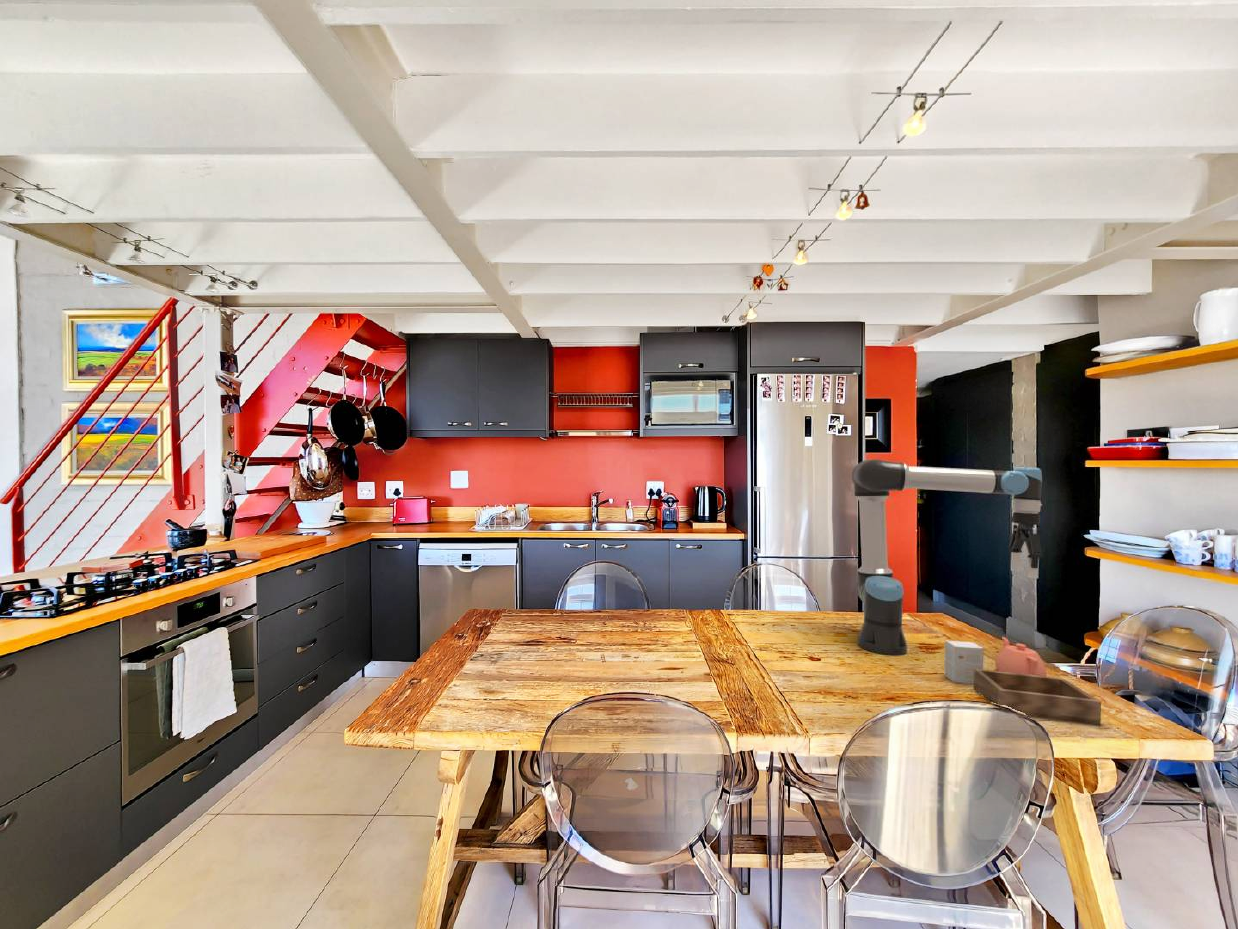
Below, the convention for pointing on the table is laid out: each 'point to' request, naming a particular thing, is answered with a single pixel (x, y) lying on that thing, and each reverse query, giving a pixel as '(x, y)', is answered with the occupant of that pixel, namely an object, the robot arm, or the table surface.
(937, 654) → the table surface
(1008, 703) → the crate
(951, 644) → the small box
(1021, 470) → the robot arm
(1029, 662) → the teapot
